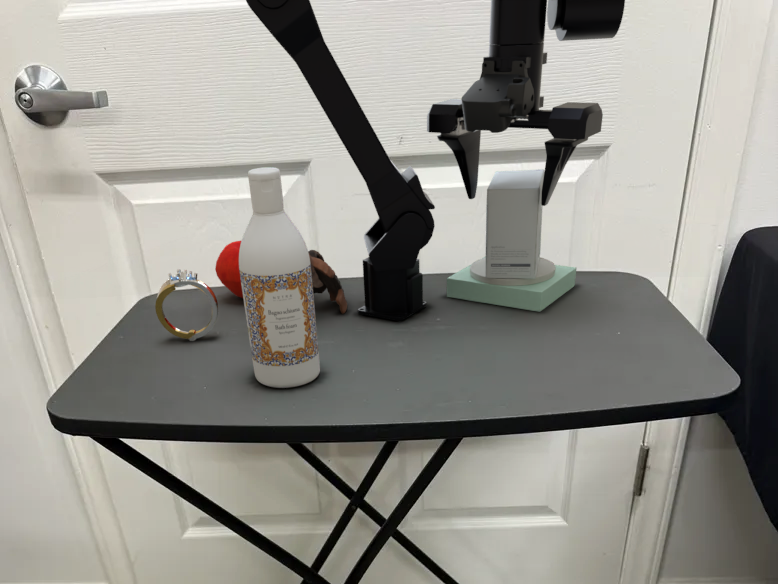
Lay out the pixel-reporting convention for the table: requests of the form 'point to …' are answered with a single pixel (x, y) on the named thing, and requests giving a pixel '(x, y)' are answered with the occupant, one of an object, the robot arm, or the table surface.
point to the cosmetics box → (514, 224)
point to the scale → (512, 286)
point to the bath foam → (277, 289)
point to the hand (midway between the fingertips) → (507, 201)
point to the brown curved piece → (326, 280)
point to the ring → (169, 287)
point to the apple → (230, 268)
